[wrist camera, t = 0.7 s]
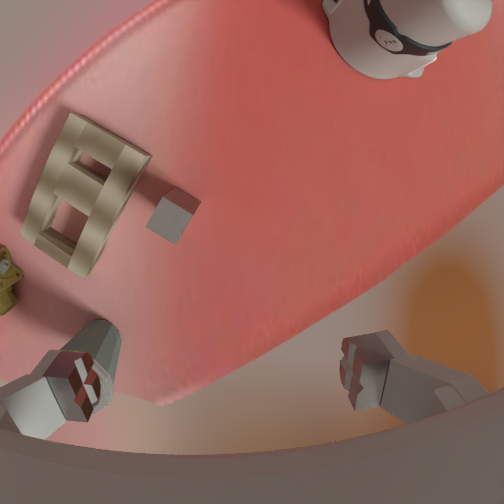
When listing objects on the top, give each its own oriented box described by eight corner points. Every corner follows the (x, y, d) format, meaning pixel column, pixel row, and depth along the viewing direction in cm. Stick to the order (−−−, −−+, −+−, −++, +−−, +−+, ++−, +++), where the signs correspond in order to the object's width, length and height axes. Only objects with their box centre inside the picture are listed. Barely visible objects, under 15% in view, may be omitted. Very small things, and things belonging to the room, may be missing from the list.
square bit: (177, 187, 44) (162, 196, 35) (201, 201, 45) (193, 215, 36) (163, 211, 45) (145, 226, 36) (186, 225, 46) (175, 244, 36)
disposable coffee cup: (77, 301, 48) (36, 349, 34) (136, 315, 50) (108, 371, 35) (80, 352, 51) (47, 404, 37) (134, 366, 53) (112, 425, 38)
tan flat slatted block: (82, 115, 40) (70, 112, 36) (152, 155, 43) (145, 156, 39) (32, 228, 44) (19, 234, 40) (94, 270, 47) (84, 279, 43)
